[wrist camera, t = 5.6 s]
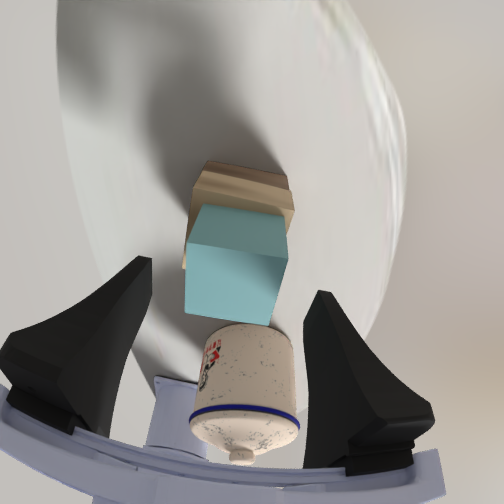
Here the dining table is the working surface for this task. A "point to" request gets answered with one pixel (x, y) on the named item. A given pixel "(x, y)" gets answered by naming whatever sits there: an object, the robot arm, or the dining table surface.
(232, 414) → the ceramic jar
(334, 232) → the dining table surface
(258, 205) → the oak slab upper
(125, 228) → the dining table surface
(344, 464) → the robot arm
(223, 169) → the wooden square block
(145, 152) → the dining table surface
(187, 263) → the teal block
